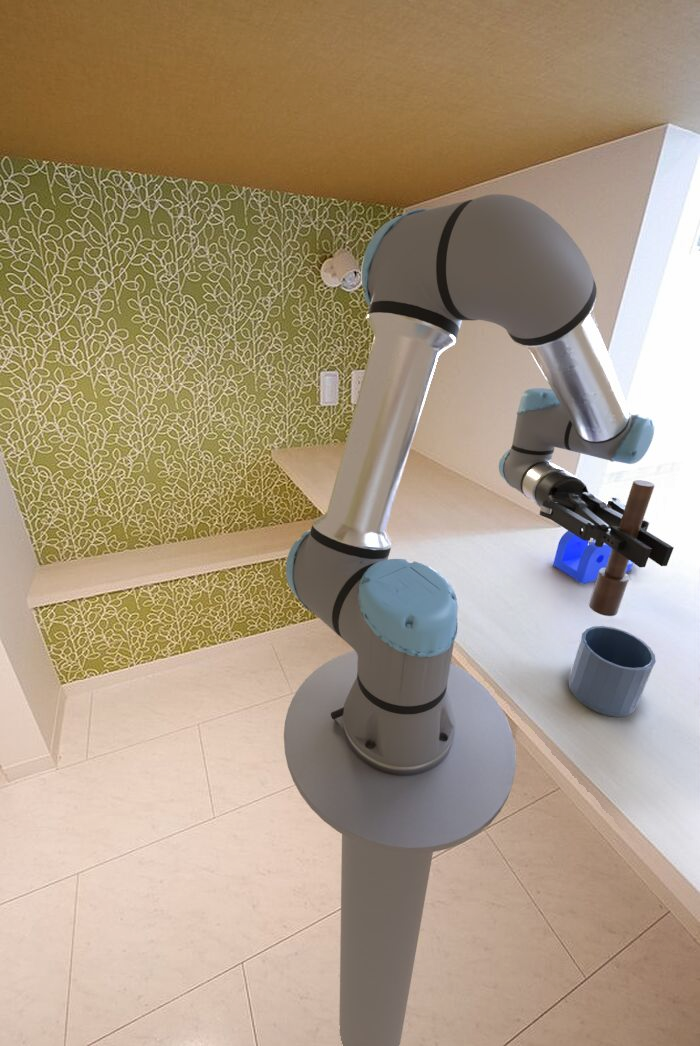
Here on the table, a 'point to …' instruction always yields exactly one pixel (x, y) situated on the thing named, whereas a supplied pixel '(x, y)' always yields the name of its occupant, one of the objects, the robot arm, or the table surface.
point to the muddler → (613, 576)
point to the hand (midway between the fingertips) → (656, 557)
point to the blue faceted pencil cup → (610, 670)
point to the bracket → (582, 558)
